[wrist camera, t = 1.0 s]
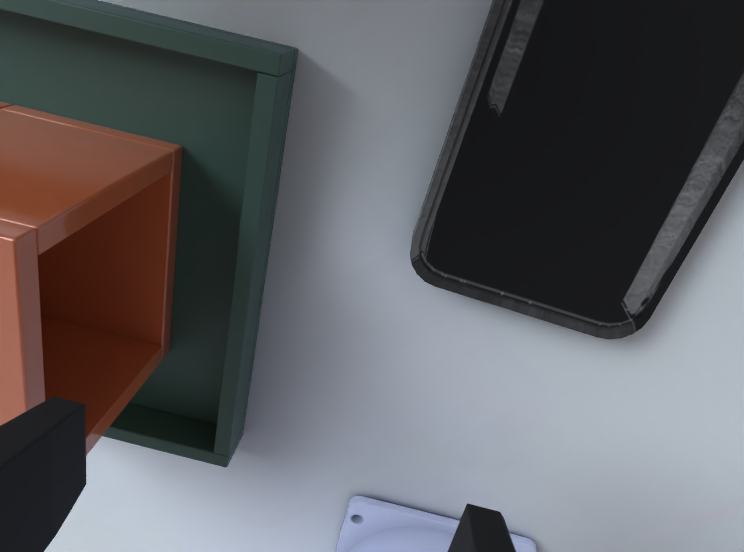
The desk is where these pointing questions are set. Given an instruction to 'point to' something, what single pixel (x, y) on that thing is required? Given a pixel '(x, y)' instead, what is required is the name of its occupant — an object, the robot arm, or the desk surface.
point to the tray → (197, 185)
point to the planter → (83, 262)
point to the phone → (585, 157)
